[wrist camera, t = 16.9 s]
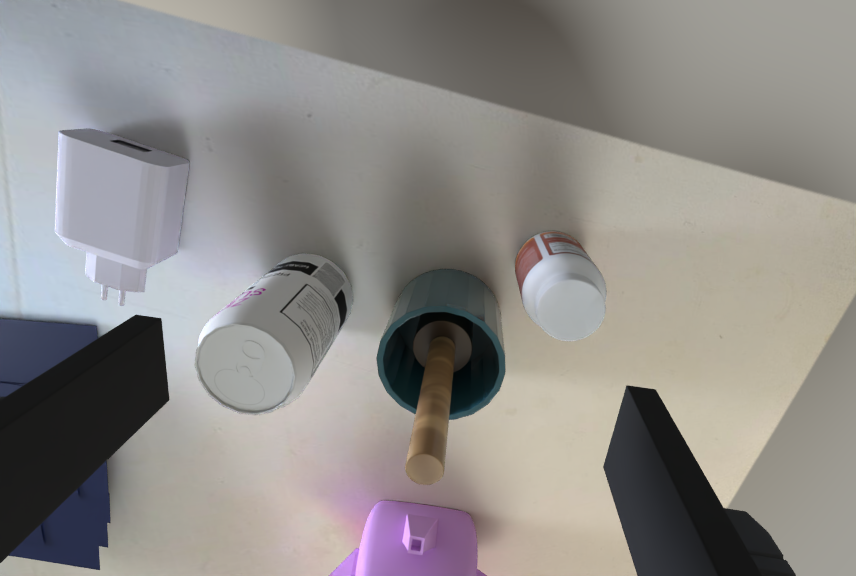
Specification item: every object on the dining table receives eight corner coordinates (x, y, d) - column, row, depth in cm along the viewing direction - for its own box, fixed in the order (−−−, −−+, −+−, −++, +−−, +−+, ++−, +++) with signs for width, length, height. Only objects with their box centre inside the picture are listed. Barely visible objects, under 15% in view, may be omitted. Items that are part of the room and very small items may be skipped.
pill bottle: (532, 306, 47) (547, 365, 36) (502, 249, 45) (509, 293, 35) (596, 277, 45) (631, 329, 35) (567, 216, 44) (595, 253, 33)
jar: (478, 253, 45) (477, 288, 37) (515, 347, 48) (523, 399, 40) (377, 290, 48) (356, 330, 39) (419, 378, 51) (407, 433, 42)
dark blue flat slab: (-58, 527, 63) (-89, 548, 59) (-96, 293, 56) (-134, 302, 52) (131, 554, 61) (110, 578, 58) (117, 318, 54) (92, 329, 51)
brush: (461, 291, 46) (449, 422, 27) (480, 338, 47) (481, 492, 29) (410, 308, 47) (366, 446, 28) (431, 354, 49) (402, 513, 30)
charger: (84, 278, 50) (94, 127, 45) (173, 307, 50) (194, 160, 45) (46, 295, 46) (52, 130, 40) (144, 327, 46) (163, 167, 41)
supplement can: (337, 344, 50) (282, 439, 36) (259, 309, 50) (173, 392, 36) (368, 274, 47) (320, 348, 33) (285, 236, 47) (202, 295, 33)
